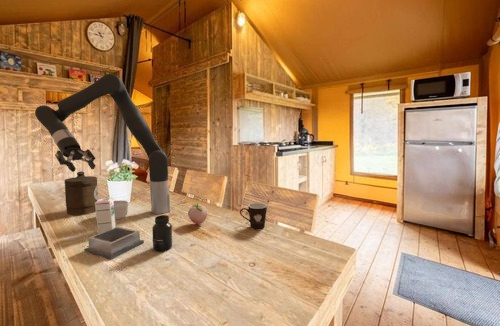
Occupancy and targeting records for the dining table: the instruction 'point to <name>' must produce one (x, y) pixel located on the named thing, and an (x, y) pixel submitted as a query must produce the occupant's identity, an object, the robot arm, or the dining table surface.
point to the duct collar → (113, 242)
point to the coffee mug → (256, 215)
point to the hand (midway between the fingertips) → (84, 169)
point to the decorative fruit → (197, 214)
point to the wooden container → (81, 194)
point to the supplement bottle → (162, 234)
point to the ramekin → (120, 209)
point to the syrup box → (105, 214)
